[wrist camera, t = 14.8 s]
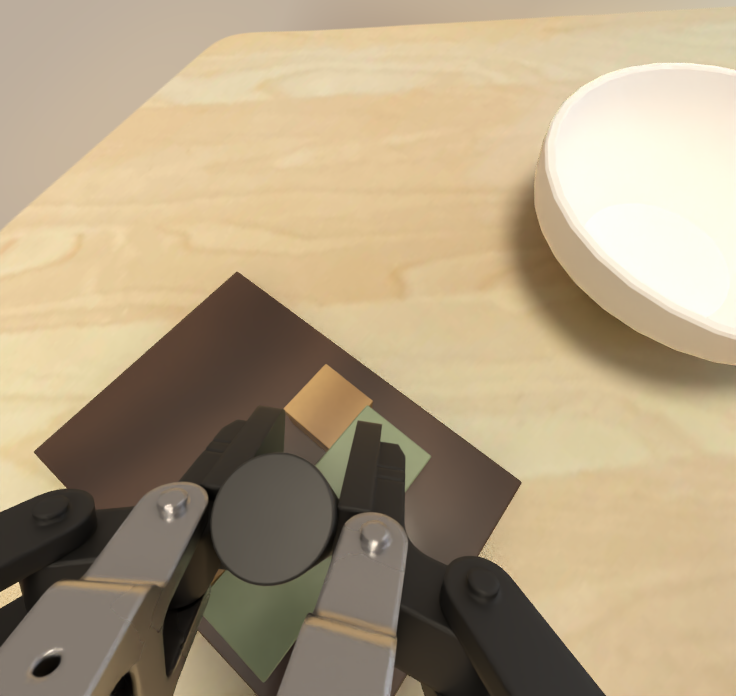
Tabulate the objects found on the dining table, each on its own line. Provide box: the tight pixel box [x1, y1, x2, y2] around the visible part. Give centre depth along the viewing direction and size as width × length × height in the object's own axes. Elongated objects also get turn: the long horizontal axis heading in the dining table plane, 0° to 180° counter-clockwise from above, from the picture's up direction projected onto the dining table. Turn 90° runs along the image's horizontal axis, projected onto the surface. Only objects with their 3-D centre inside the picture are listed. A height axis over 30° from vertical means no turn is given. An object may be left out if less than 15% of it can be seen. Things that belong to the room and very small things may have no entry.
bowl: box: [534, 63, 736, 366], centre depth 24 cm, size 20×20×7 cm
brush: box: [203, 405, 431, 683], centre depth 13 cm, size 4×10×13 cm, turn 140°
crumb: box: [284, 364, 373, 452], centre depth 20 cm, size 3×3×2 cm
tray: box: [34, 272, 521, 696], centre depth 21 cm, size 20×14×1 cm
